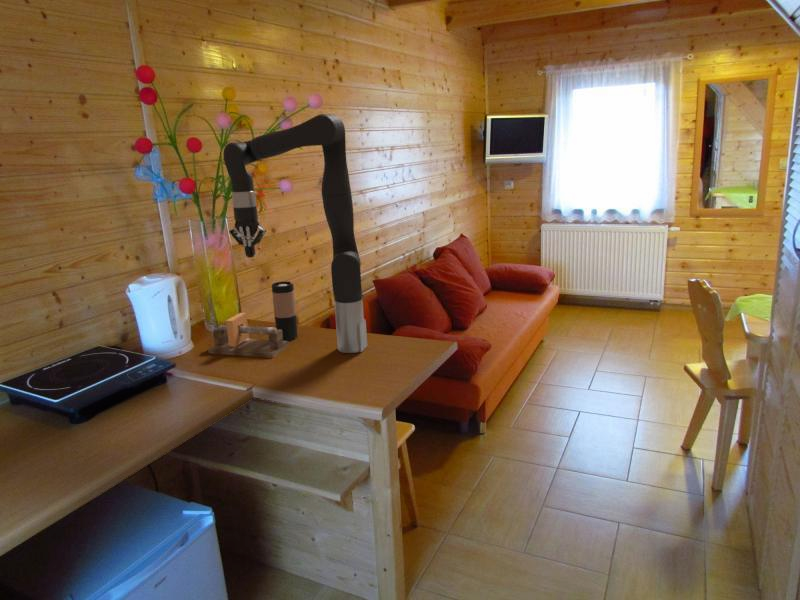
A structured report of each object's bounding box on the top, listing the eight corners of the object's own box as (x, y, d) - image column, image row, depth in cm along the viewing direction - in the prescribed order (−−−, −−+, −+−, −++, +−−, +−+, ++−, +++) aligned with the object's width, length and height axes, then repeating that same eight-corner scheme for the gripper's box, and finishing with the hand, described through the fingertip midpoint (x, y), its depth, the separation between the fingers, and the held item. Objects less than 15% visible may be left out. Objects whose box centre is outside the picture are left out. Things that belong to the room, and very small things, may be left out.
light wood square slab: (249, 337, 197) (246, 312, 195) (235, 346, 189) (232, 320, 186) (243, 337, 198) (240, 312, 195) (229, 346, 189) (225, 320, 187)
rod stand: (289, 345, 195) (287, 322, 193) (273, 357, 184) (270, 333, 182) (228, 341, 202) (225, 319, 199) (208, 353, 190) (205, 330, 188)
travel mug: (273, 341, 200) (267, 286, 194) (281, 334, 207) (276, 281, 202) (294, 341, 199) (288, 286, 193) (301, 334, 206) (296, 281, 200)
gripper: (268, 203, 187) (273, 255, 191) (232, 204, 190) (238, 254, 195) (257, 206, 180) (263, 259, 185) (220, 206, 183) (227, 259, 188)
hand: (250, 257), depth 190 cm, fingers closed
